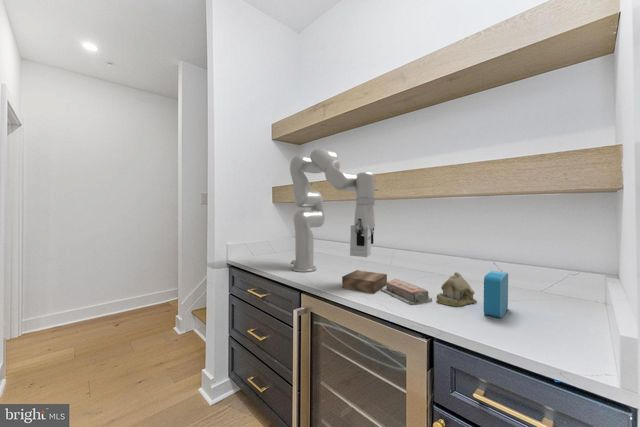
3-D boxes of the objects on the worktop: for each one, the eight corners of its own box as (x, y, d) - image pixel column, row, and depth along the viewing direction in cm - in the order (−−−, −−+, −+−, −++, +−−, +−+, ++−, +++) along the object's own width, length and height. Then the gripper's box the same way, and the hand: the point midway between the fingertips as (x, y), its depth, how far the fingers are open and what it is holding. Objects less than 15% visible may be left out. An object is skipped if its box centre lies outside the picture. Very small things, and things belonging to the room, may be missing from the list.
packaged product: (433, 289, 95) (410, 292, 91) (433, 302, 95) (410, 306, 91) (400, 276, 112) (380, 279, 108) (400, 288, 112) (380, 291, 108)
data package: (491, 305, 91) (492, 269, 91) (508, 308, 88) (508, 271, 88) (483, 315, 82) (483, 276, 82) (500, 319, 79) (501, 278, 79)
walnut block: (342, 288, 111) (342, 276, 111) (356, 281, 123) (356, 270, 123) (374, 294, 104) (374, 281, 104) (386, 285, 116) (386, 274, 116)
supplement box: (367, 257, 109) (367, 226, 109) (349, 255, 112) (350, 225, 112) (371, 254, 116) (371, 224, 116) (354, 253, 119) (354, 224, 119)
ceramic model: (449, 293, 105) (449, 267, 105) (481, 300, 96) (481, 272, 96) (430, 301, 96) (431, 272, 95) (464, 310, 87) (464, 279, 87)
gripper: (366, 203, 122) (366, 242, 122) (346, 202, 108) (346, 246, 108) (381, 202, 118) (381, 243, 118) (364, 201, 104) (364, 247, 104)
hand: (365, 244), depth 113 cm, fingers closed on supplement box, 8 cm apart
